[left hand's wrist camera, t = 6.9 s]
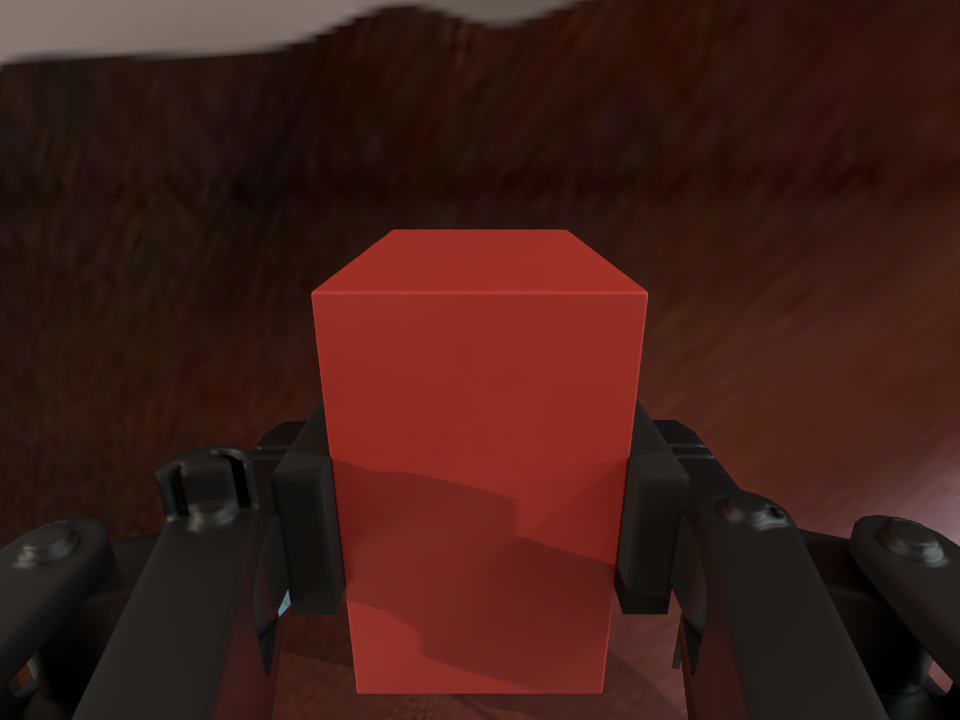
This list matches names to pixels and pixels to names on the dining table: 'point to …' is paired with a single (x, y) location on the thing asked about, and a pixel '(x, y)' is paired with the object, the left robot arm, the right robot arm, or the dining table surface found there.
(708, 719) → the left robot arm
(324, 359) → the block
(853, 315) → the dining table surface
